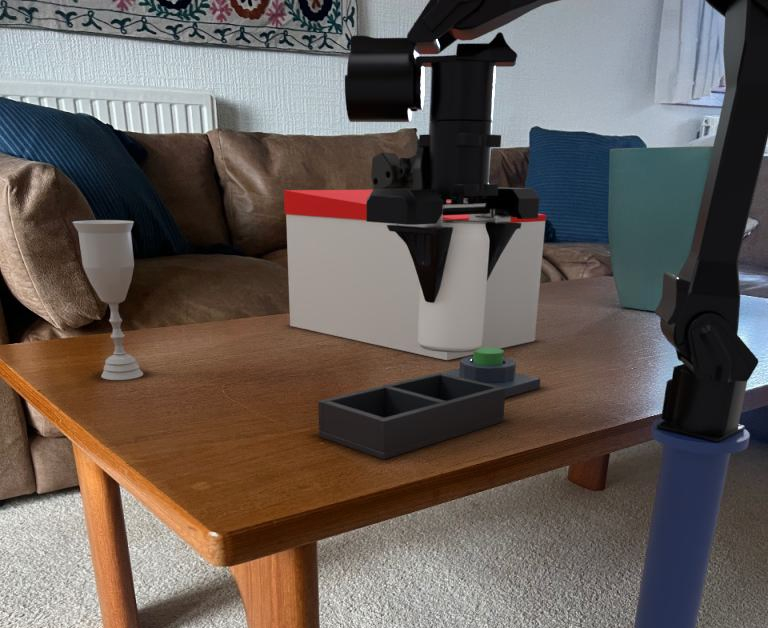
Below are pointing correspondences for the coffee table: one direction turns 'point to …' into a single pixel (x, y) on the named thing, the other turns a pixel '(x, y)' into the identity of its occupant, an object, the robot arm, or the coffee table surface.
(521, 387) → the grey button base
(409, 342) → the red-topped white box
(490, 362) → the button
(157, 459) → the coffee table surface
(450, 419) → the divided tray
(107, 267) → the chalice
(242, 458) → the coffee table surface
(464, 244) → the can
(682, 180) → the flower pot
